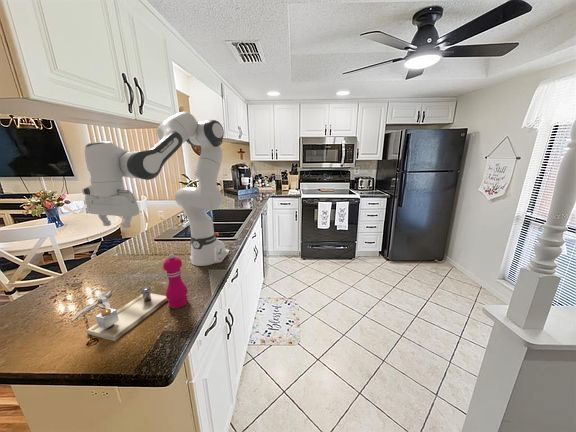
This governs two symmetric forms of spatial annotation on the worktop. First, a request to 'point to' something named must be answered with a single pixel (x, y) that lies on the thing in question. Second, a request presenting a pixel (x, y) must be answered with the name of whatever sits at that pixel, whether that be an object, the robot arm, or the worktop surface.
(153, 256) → the worktop surface
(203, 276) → the worktop surface
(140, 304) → the board
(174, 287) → the pepper mill
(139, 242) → the worktop surface
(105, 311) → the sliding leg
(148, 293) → the fixed leg
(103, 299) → the pliers
